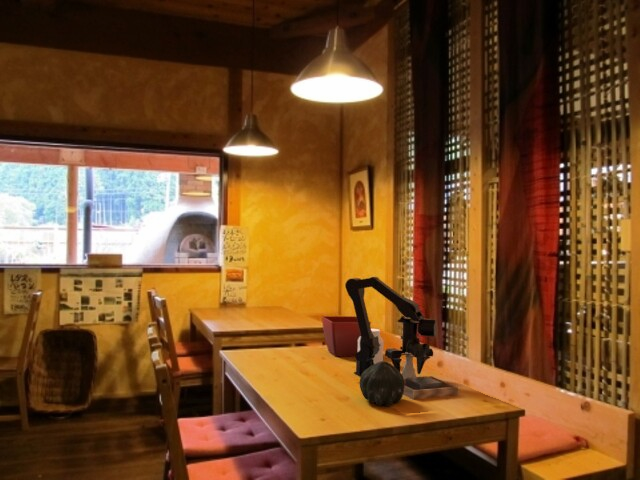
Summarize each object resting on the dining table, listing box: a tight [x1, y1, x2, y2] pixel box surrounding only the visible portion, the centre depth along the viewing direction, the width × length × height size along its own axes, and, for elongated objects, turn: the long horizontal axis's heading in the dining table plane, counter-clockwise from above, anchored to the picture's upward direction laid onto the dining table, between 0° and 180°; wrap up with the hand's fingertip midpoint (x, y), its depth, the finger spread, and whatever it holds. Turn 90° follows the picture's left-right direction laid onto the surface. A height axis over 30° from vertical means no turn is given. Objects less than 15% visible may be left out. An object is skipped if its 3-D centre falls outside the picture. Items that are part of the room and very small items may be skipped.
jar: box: [358, 327, 384, 364], centre depth 237 cm, size 12×10×15 cm
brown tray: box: [403, 375, 459, 401], centre depth 191 cm, size 18×16×4 cm
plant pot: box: [321, 315, 371, 357], centre depth 257 cm, size 19×19×17 cm
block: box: [406, 376, 441, 390], centre depth 191 cm, size 9×9×4 cm
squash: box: [359, 360, 405, 407], centre depth 178 cm, size 14×15×15 cm
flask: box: [401, 355, 417, 378], centre depth 208 cm, size 7×7×10 cm
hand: (408, 374), depth 208 cm, fingers open, 9 cm apart
